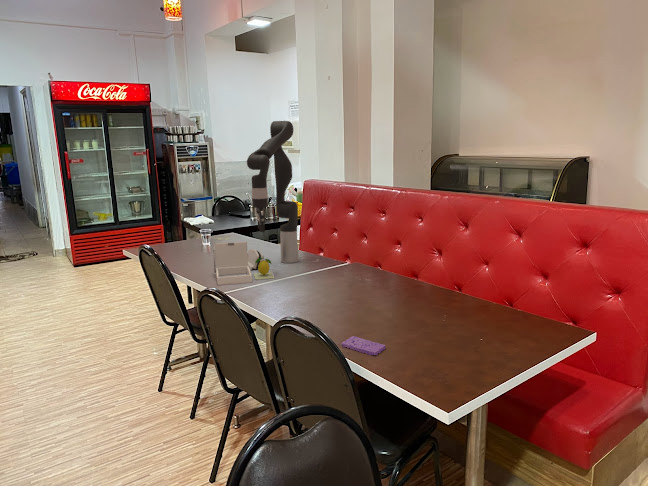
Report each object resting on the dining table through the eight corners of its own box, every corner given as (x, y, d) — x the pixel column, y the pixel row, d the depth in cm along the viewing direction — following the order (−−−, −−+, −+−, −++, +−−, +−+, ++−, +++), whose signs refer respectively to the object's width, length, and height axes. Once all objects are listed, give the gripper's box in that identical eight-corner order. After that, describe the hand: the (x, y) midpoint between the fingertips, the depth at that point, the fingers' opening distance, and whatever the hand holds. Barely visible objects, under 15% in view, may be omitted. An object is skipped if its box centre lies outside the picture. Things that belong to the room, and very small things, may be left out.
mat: (271, 272, 246) (271, 271, 246) (274, 278, 236) (274, 277, 236) (253, 274, 244) (253, 273, 244) (255, 280, 234) (255, 279, 234)
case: (248, 271, 250) (246, 241, 246) (252, 282, 230) (250, 250, 227) (214, 274, 246) (212, 243, 243) (215, 285, 226) (213, 252, 223)
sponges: (352, 341, 163) (352, 335, 162) (386, 350, 155) (386, 344, 155) (340, 348, 157) (340, 342, 157) (374, 357, 150) (374, 352, 149)
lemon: (255, 276, 238) (254, 256, 236) (258, 273, 243) (258, 254, 241) (268, 277, 237) (268, 257, 235) (271, 274, 242) (271, 254, 240)
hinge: (242, 263, 266) (247, 246, 265) (250, 265, 268) (255, 248, 267) (250, 270, 251) (256, 252, 250) (259, 272, 253) (264, 254, 253)
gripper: (269, 198, 228) (271, 232, 231) (265, 195, 241) (267, 227, 245) (253, 199, 226) (255, 233, 229) (250, 195, 239) (251, 228, 243)
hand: (261, 230), depth 237 cm, fingers open, 8 cm apart
